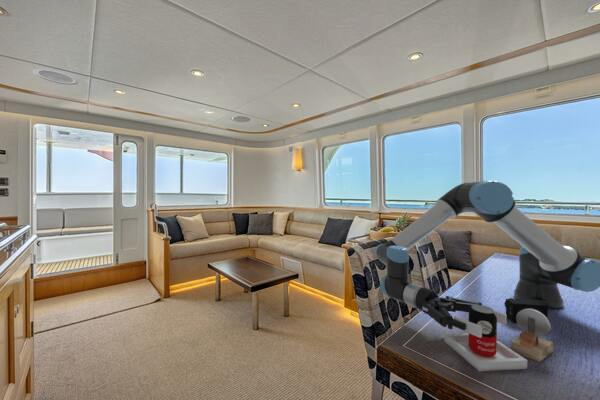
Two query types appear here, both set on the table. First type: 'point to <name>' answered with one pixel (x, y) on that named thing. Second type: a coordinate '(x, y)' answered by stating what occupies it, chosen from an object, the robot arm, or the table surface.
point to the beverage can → (483, 331)
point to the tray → (499, 361)
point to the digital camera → (523, 307)
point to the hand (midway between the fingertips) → (494, 325)
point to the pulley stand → (532, 335)
